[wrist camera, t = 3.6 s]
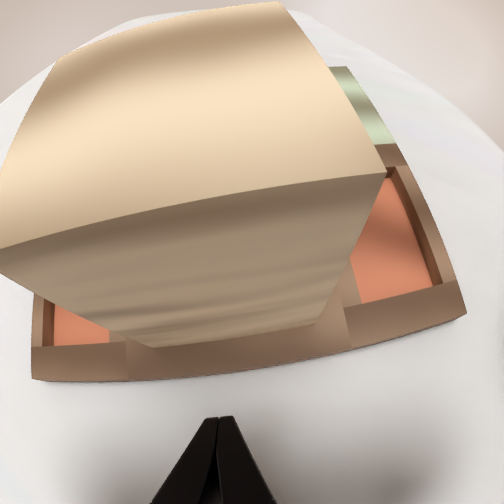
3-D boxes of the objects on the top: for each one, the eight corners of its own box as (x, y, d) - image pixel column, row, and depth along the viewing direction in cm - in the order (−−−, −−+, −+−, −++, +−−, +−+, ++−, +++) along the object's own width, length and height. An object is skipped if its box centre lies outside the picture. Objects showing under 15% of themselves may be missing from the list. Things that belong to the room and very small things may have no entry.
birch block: (315, 323, 14) (387, 172, 4) (152, 348, 14) (-26, 257, 5) (283, 186, 18) (279, 1, 8) (149, 211, 18) (59, 57, 8)
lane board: (454, 319, 15) (467, 313, 14) (46, 381, 15) (31, 378, 14) (344, 79, 24) (346, 66, 23) (80, 130, 25) (73, 119, 23)
